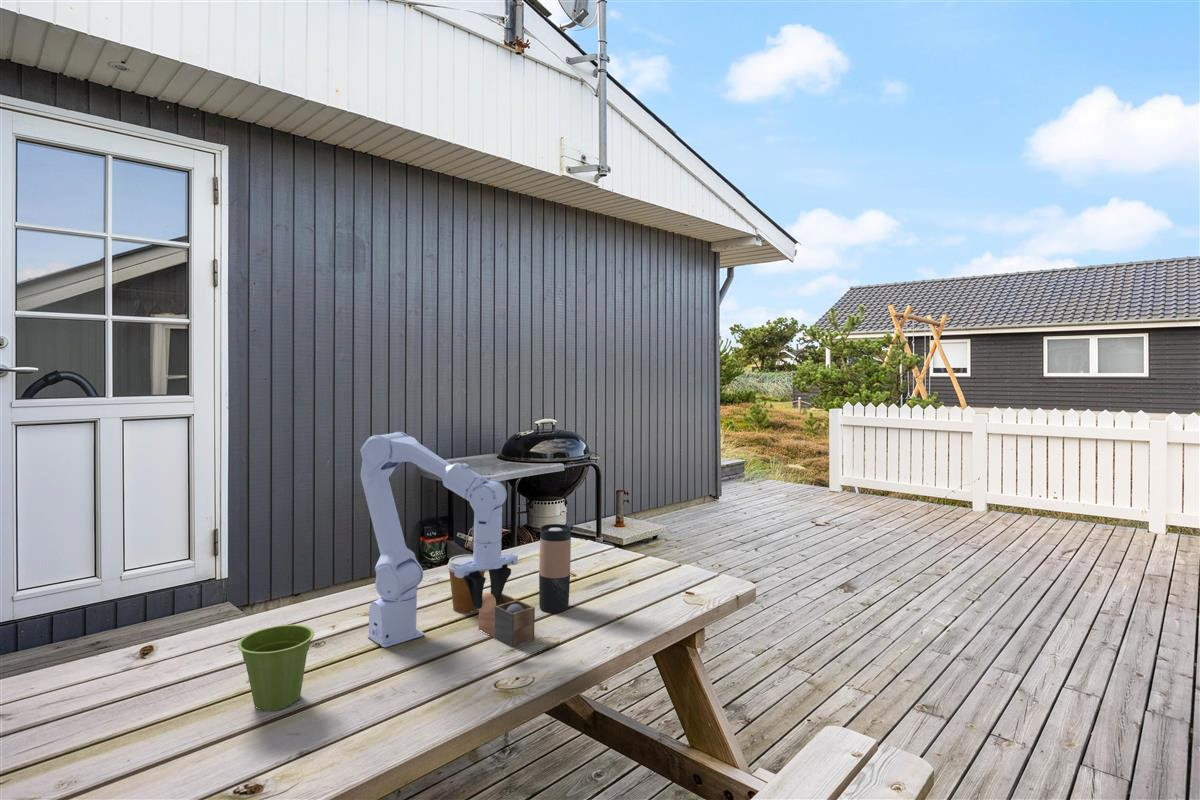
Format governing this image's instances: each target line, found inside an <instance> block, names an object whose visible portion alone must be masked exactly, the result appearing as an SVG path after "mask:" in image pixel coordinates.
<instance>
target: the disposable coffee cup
mask: <svg viewBox="0 0 1200 800" xmlns="http://www.w3.org/2000/svg"><path fill="white" fill-rule="evenodd" d="M471 560H473V554H459V555H455V556H452V557H450V558H449V560H448V563H447V566H446V567H447V569H448V571H449V580H450V590H451V598H452V599H451V600H452V607H453V611H454V612H458V613H463V612H467V613H472V612H471V611H473V612H476V611H477V609H478V608H476V607H474V606H473V603H472V598H471V594H470V591H469V588H468V586H467V584H466V582H465V580H464V578H458V577H456V576H454V573H455V566H459V565H462V564H464V563H467V562H469V561H471ZM485 572H486V571H483V572H480V574H481V576H482V577H485ZM475 610H476V611H475ZM478 610H479V609H478Z"/></svg>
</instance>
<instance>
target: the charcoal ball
mask: <svg viewBox="0 0 1200 800" xmlns="http://www.w3.org/2000/svg"><path fill="white" fill-rule="evenodd" d="M522 610H523V608H522V607H521V606H520V605H518V604H512V605H510V606H509V607H508V608H507V610H506V611H508V612H511V613H515V612H518V611H522Z"/></svg>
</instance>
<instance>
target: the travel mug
mask: <svg viewBox="0 0 1200 800" xmlns="http://www.w3.org/2000/svg"><path fill="white" fill-rule="evenodd" d="M539 537H540V539H539V563H538V564H539V565H538V566H539V567H538V568H539V570H538V571H539V572H538V573H539V574H538V579H539V580H538V590H539V591H538V597H539V601H538V602H539V604H538V605H539V610H540V611H542V612H544V613H549V614H559V613H560V612H561V613H563V611H564V612H566V611H568V610H569V604H570V603H569V602H570V586H571V585H570V583H571V558H572V557H571V551H572V550H571V547H572V546H571V545H572V544H571V543H572V542H571V541H572V528H571V526H569V525H567V524H562V523H561V524H560V523H549V524H544V525H542V526H540V534H539Z"/></svg>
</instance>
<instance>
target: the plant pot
mask: <svg viewBox="0 0 1200 800" xmlns="http://www.w3.org/2000/svg"><path fill="white" fill-rule="evenodd" d="M314 636H315V631H314V630H313V629H312V628H311V627H309V626H306V625H303V624H302V625H301V624H282V625H273V626H270V627H266V628H261V629H258V630H255V631H253V632H250V633H249V634H247V635H245V636H243V637H242V638H241V639H240V640H239V641H238V642H237V648H238V650H240V651H241V654H242V659H243V662H245V666H246V671H247V675H248V681H249V686H250V690H251V691H250V692H251V695H252V696H251V697H252V700H253V705H255V706H254V707H255V708H256V707H257V708H260V709H261V710H263V711H265V710H274V711H277V709H278V710H282V709H281V708H283V709H285V708H284V707H286V706H288V705H290V704H291V703H292V704H294V702H295V703H296V702H297V701H296V700H298V699H300V698H301V695H302V694H301V693H302V687H303V682H304V674H305V667H306V663H307V656H308V651H310V650H309V649H310V645H311V641H312V639H313V638H314ZM299 697H300V698H299ZM298 701H299V700H298ZM292 704H291V705H292ZM291 705H290V706H291ZM288 707H289V706H288ZM257 708H256V709H257ZM286 708H287V707H286Z"/></svg>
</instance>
